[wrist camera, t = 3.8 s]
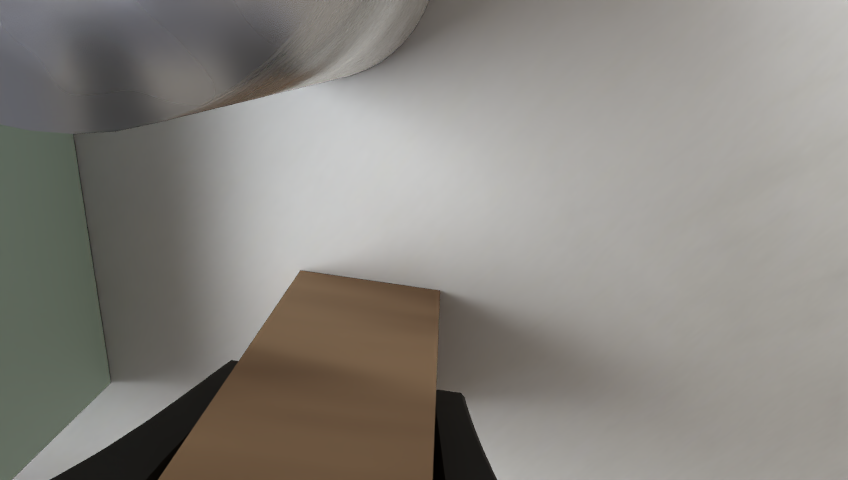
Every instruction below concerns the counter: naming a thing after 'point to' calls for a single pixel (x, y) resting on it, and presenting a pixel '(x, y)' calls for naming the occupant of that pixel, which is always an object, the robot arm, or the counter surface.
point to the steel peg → (179, 55)
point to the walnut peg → (326, 390)
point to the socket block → (44, 296)
